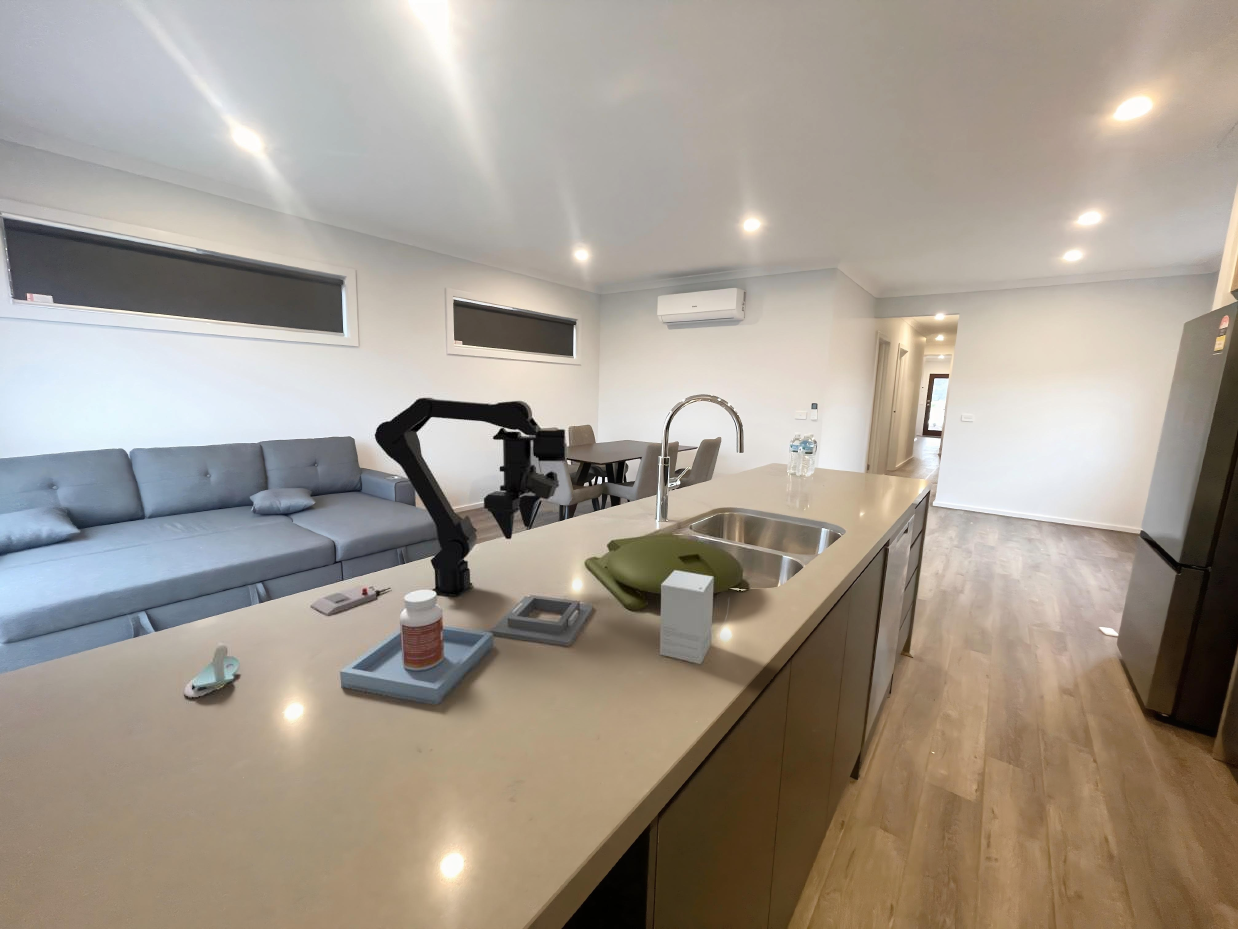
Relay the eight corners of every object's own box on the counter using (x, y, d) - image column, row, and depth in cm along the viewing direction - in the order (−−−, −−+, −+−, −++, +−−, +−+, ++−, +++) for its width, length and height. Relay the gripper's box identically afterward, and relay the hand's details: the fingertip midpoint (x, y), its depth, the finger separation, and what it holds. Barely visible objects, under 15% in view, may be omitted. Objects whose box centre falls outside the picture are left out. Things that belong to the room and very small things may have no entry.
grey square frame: (490, 634, 86) (489, 622, 86) (525, 600, 101) (525, 589, 101) (569, 646, 83) (569, 633, 83) (594, 608, 97) (594, 597, 97)
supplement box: (712, 644, 85) (715, 576, 83) (700, 666, 78) (704, 592, 76) (672, 635, 88) (674, 568, 86) (657, 654, 81) (660, 583, 79)
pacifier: (177, 706, 66) (232, 693, 69) (169, 665, 65) (225, 653, 68) (194, 678, 73) (243, 667, 75) (187, 640, 72) (237, 630, 74)
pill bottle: (451, 662, 77) (448, 596, 75) (411, 677, 72) (408, 608, 71) (434, 646, 81) (431, 584, 79) (396, 660, 77) (392, 594, 75)
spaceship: (581, 565, 122) (581, 528, 121) (686, 551, 134) (687, 517, 133) (641, 629, 91) (643, 579, 89) (772, 603, 103) (775, 559, 101)
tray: (341, 686, 71) (339, 671, 70) (411, 634, 86) (411, 621, 86) (437, 705, 67) (436, 688, 67) (493, 646, 83) (493, 633, 82)
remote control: (300, 612, 95) (299, 598, 94) (377, 586, 108) (376, 573, 107) (317, 622, 91) (316, 607, 91) (394, 594, 104) (393, 580, 104)
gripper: (535, 470, 91) (535, 549, 93) (568, 457, 109) (568, 524, 111) (481, 466, 93) (483, 544, 96) (522, 454, 111) (523, 520, 114)
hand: (518, 532), depth 104 cm, fingers open, 9 cm apart
